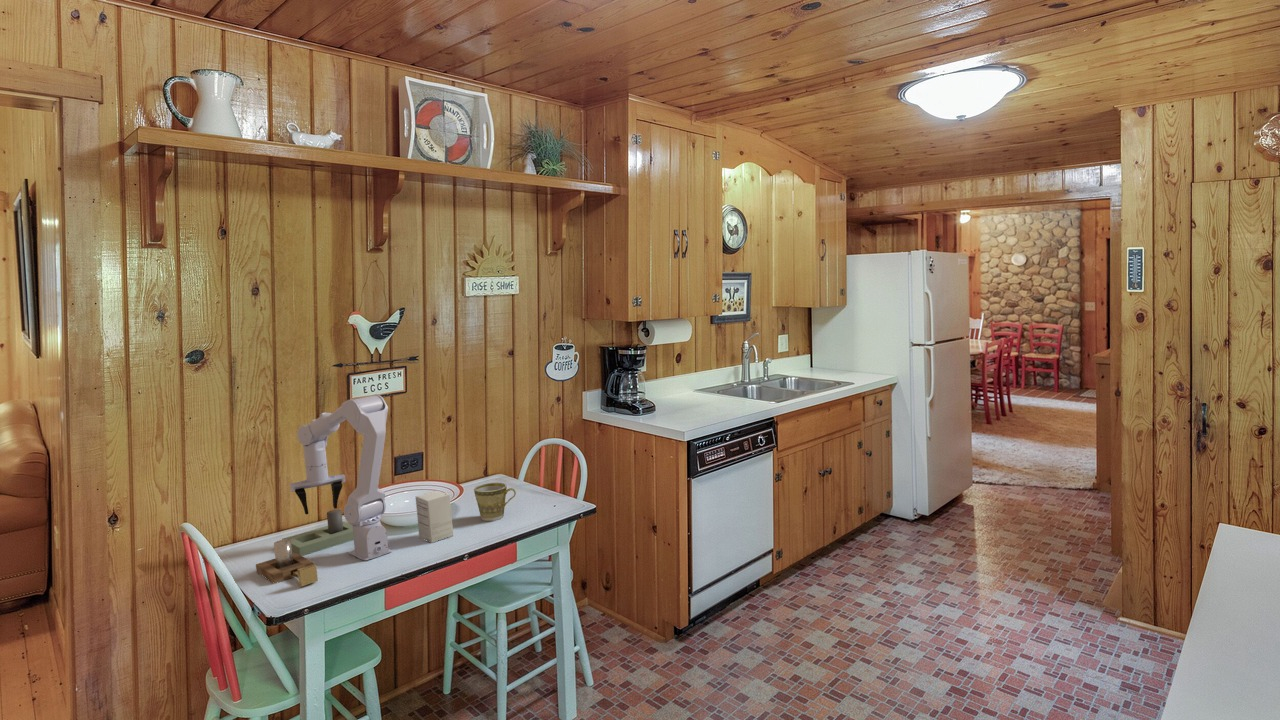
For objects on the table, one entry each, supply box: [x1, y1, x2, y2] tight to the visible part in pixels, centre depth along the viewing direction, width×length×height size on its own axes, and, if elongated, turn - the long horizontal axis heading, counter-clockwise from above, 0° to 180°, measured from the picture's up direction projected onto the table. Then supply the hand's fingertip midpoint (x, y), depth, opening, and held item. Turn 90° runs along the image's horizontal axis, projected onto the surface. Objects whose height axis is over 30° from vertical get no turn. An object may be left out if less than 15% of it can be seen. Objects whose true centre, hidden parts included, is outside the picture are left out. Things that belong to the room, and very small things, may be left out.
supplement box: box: [415, 490, 454, 544], centre depth 205 cm, size 7×7×13 cm
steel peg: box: [273, 539, 293, 572], centre depth 184 cm, size 4×4×8 cm
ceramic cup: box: [473, 481, 517, 522], centre depth 220 cm, size 13×10×10 cm
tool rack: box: [281, 509, 354, 557], centre depth 206 cm, size 12×18×8 cm, turn 138°
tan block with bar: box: [293, 563, 319, 587], centre depth 177 cm, size 8×4×4 cm, turn 48°
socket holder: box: [255, 552, 315, 584], centre depth 185 cm, size 12×10×2 cm
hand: (321, 510), depth 205 cm, fingers open, 7 cm apart
